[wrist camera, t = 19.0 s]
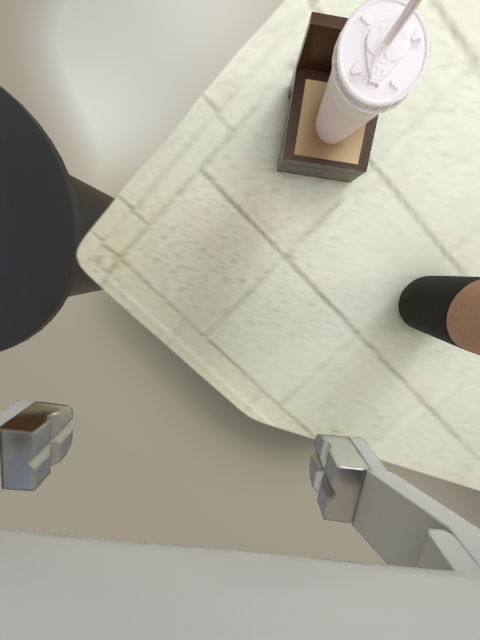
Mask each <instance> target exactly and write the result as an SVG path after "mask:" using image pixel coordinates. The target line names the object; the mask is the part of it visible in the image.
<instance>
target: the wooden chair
mask: <svg viewBox="0 0 480 640" xmlns="http://www.w3.org/2000/svg"><path fill="white" fill-rule="evenodd" d="M348 19H349V18H343V17H338V16H332V15H327V14H321V13H316V12H312V14H311V17H310V20H309V24H308V27H307V30H306V33H305V37H304V40H303V43H302V47H301V50H300V53H299V57H298V60H297V63H296V66H295V70H294V73H293V77H292V80H291V83H290V88H289V95H288V98H291V99H290V106H289V112H288V119H287V125H286V132H285V139H284V145H283V150H282V153H281V155H280V157H279V161H278V168H277V171H281V172H288V173H294V174H301V175H307V176H314V177H320V178H327V179H333V180H340V181H346V182H352V181H353V180H355V179H356V178H357V177H359V176H360V175H362V174H363V173H365V172H366V170H367V166H368V161H369V156H370V151H371V147H372V142H373V137H374V133H375V128H376V123H377V118H378V115H377V116H375V117H374V118H373V119H371V120H370V121H368V122H367V123H366V124H364V125H363V126H362V127H360V128H359V129H358V130H356V131H355V132H354V133H352V134H351V135H349V136H348V137H347V138H345V139H344V140H343V141H341V142H339V143H337V144H328V143H325V142H324V141H322V140H321V139H320V138H319V136H318V134H317V132H316V127H315V123H316V118H317V115H318V111H319V108H320V105H321V102H322V99H323V96H324V92H325V89H326V86H327V83H328V80H329V77H330V73H331V70H332V57H333V51H334V46H335V44H336V41H337V39H338V37H339V34H340V32H341V31H342V30H343V27H344V26H345V24H346V22H347V20H348Z"/></svg>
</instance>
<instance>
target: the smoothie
mask: <svg viewBox="0 0 480 640" xmlns="http://www.w3.org/2000/svg"><path fill="white" fill-rule="evenodd" d="M421 2H422V0H410V1H408V0H368V1H367V2H365V3H363V4H362V5H361V6H360V7H358V8H357V9H356V10H355V11H354V12H353V13H352V15H351V16H350V17H349V19H348V20H347V22H346V24H345V26H344V27H343V30H342V31H341V32H340V34H339V37H338V39H337V41H336V44H335V46H334V51H333V57H332V70H331V73H330V77H329V80H328V83H327V86H326V89H325V92H324V96H323V99H322V102H321V105H320V108H319V111H318V115H317V118H316V123H315V127H316V132H317V134H318V136H319V138H320V139H321V140H322V141H324V142H325V143H328V144H337V143H339V142H341V141H343V140H344V139H345V138H347V137H348V136H349V135H351V134H352V133H354V132H355V131H356V130H358V129H359V128H360V127H362V126H363V125H364V124H366V123H367V122H368V121H370V120H371V119H373V118H374V117H375V116H377V115H378V114H379V113H382V112H386V111H388V110H390V109H392V108H395V107H396V106H397V105H399V104H400V103H401V102H402V101H404V100H405V99H406V98H407V96H408V95H409V94H410V93H411V92H412V91H413V89H414V88H415V87H416V86H417V85H418V83H419V82H420V80H421V78H422V77H423V75H424V73H425V70H426V68H427V64H428V61H429V56H430V35H429V30H428V26H427V24H426V21H425V19H424V17H423V15H422V14H421V12H420V11H419V10H418V9H417V7H418V6H419V4H420V3H421Z"/></svg>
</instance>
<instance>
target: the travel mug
mask: <svg viewBox="0 0 480 640" xmlns="http://www.w3.org/2000/svg"><path fill="white" fill-rule="evenodd" d="M399 311H400V314H401V317H402V319H403V320H404V321H405V322H406V323H407V324H408V325H409V326H411V327H413V328H415V329H417V330H419V331H422V332H424V333H426V334H429V335H431V336H433V337H436V338H438V339H440V340H443V341H445V342H448V343H450V344H452V345H455V346H457V347H459V348H462V349H464V350H467V351H470V352H472V353H475V354H478V355H480V277H459V276H426V277H422V278H419V279H417V280H415V281H413V282H412V283H410V284H409V285H408V286H407V287H406V289H405V290H404V291H403V293H402V295H401V298H400V302H399Z"/></svg>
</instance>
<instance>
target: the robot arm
mask: <svg viewBox="0 0 480 640" xmlns="http://www.w3.org/2000/svg"><path fill="white" fill-rule="evenodd" d="M72 418H73V411H72V408H71V407H70V406H68V405H61V404H53V403H46V402H38V401H30V400H18V401H16V402H15V403H13V404H12V405H10V406H8V407H7V408H5V409H4V410H2V411H0V492H1V491H2V489H9V490H10V489H11V490H24V491H35V490H36V489H37V487H38V486H39V485H40V484H41V483H42V482H43V481H44V480H45V479H46V477H47V476H48V475H49V474H50V467H51V466H52V465H55V464H57V463H59V462H61V460H62V459H63V458H64V457H65V455H66V454H67V452H68V450H69V448H70V446H71V441H72V437H73V430H72V429H71V427H70V426H69V425H68V423H69V422H70V421H71V420H72ZM314 446H315V449H316V451H317V452H316V453H315V454H313V455H312V456H311V461H310V480H311V483H312V486H313V488H314V489H315V490H316V491H317V492H318V493H319V494H318V498H317V501H318V504H319V507H320V510H321V513H322V515H323V518H324V520H330V521H338V522H345V523H353V524H352V525H353V526H354V528H355V529H356V530H357V531H358V532H359V533H360V534H361V535H362V536H363V537H364V539H365V540H366V541H367V542H368V543H369V544H370V545H371V546H372V547H373V548H374V550H375V551H376V552H377V553H378V554H379V555H380V556H381V557H382V559H383V560H384V561H385V562H386V563H387V564H388V565H385V564H374V563H362V562H351V561H340V560H330V559H319V558H307V557H298V556H287V555H276V554H266V553H255V552H244V551H233V550H223V549H212V548H201V547H189V546H179V545H167V544H157V543H156V544H155V543H145V542H134V541H122V540H112V539H101V538H89V537H78V536H67V535H56V534H47V533H36V532H25V531H13V530H2V529H0V640H480V529H479V528H477V527H475V526H474V525H472V524H471V523H469V522H468V521H466V520H465V519H463V518H462V517H460V516H458V515H457V514H456V513H454V512H453V511H451V510H449V509H448V508H446V507H445V506H443V505H442V504H440V503H439V502H437V501H436V500H434V499H433V498H431V497H429V496H428V495H426V494H425V493H423V492H422V491H420V490H419V489H417V488H416V487H414V486H412V485H411V484H410V483H408V482H406V481H405V480H403V479H402V478H400V477H399V476H397V475H396V474H394V473H389V472H388V471H387V469H386V468H385V467H384V466H383V464H382V463H381V461H380V460H379V459H378V457H377V456H376V454H375V453H374V452H373V450H372V449H371V448H370V446H369V445H368V444H367V442H366V441H365V440H364V439H363V438H361V437H348V436H347V437H346V436H334V435H323V434H317V436H316V438H315V442H314Z"/></svg>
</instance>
